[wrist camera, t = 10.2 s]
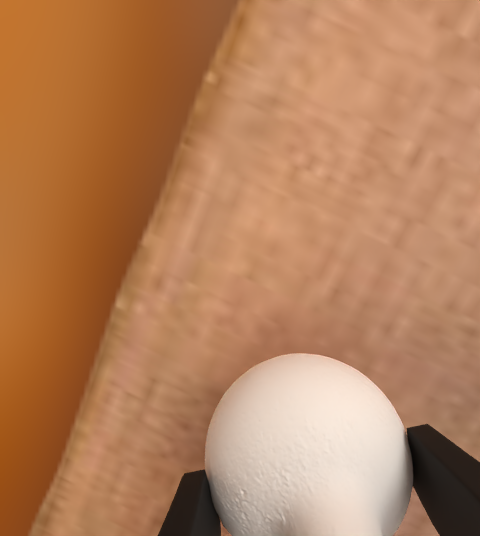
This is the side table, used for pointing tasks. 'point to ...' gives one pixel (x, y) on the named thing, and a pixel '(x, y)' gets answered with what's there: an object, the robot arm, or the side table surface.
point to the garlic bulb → (307, 452)
